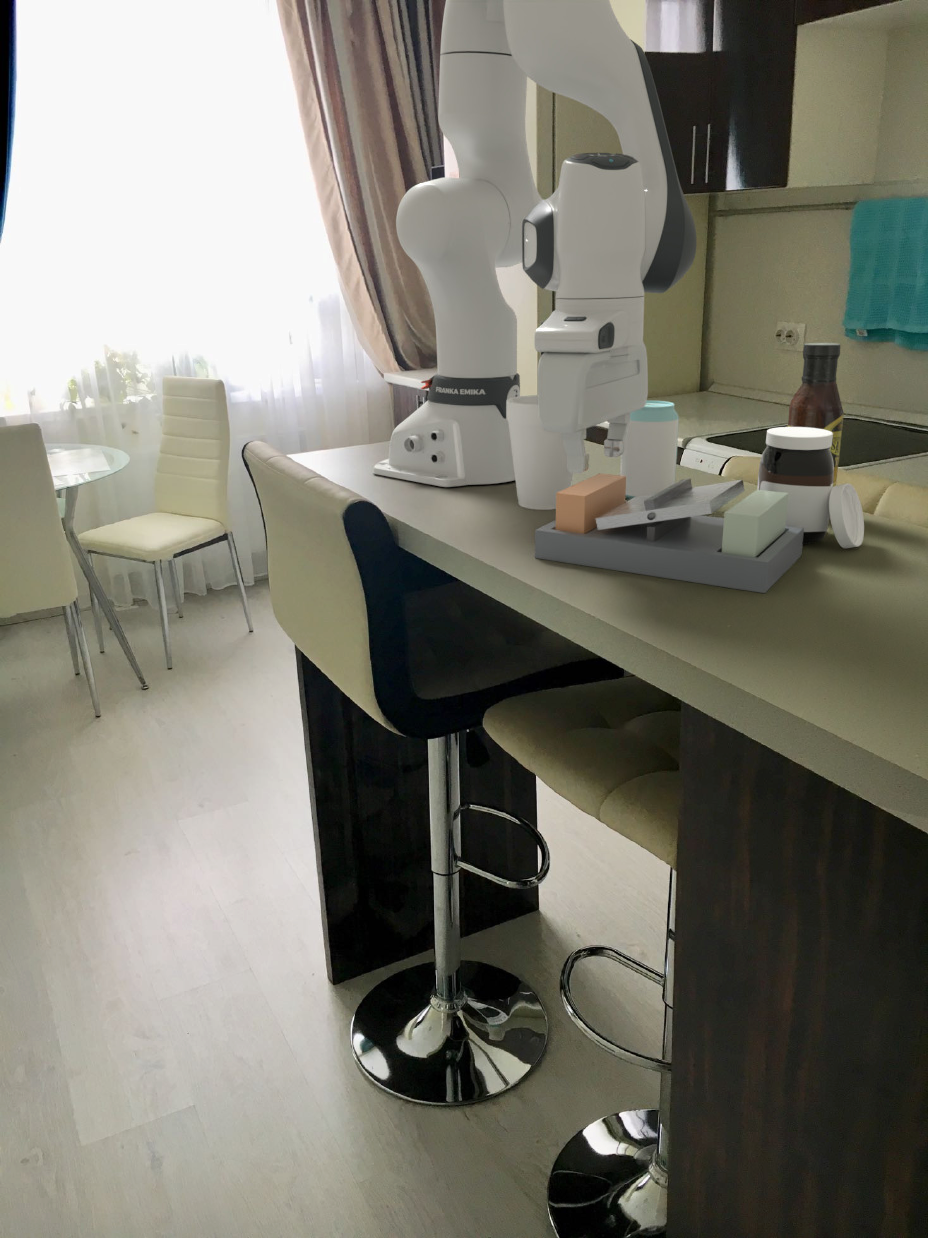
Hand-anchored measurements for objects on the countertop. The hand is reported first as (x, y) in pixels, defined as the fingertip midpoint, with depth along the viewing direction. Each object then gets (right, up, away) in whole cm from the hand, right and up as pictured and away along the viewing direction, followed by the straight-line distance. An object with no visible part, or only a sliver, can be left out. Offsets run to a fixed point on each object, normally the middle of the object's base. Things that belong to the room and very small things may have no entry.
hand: (596, 463), depth 106 cm
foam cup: (-4, -2, +22) cm, 22 cm away
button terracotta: (0, -6, +2) cm, 6 cm away
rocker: (+7, -5, -3) cm, 9 cm away
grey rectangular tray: (+7, -10, -1) cm, 12 cm away
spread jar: (+24, -8, +5) cm, 26 cm away
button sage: (+15, -9, -6) cm, 18 cm away
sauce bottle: (+27, -4, +16) cm, 32 cm away
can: (+10, -1, +25) cm, 27 cm away
